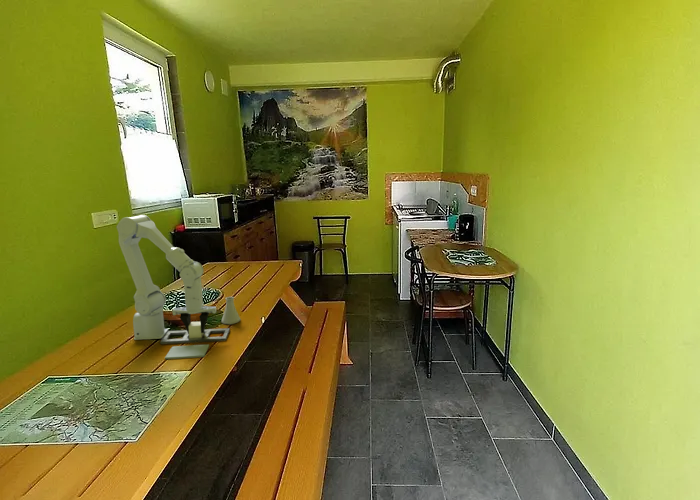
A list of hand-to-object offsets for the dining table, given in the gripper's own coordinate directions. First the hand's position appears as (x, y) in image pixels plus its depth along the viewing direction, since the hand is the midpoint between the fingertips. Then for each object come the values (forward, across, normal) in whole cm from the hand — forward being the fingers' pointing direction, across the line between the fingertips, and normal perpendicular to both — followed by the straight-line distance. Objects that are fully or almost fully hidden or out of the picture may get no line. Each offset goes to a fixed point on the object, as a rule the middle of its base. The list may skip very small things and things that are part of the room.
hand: (196, 332), depth 136 cm
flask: (+2, +10, +14) cm, 17 cm away
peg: (+2, 0, 0) cm, 2 cm away
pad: (+2, 0, -12) cm, 12 cm away
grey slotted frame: (+2, 0, 0) cm, 2 cm away
